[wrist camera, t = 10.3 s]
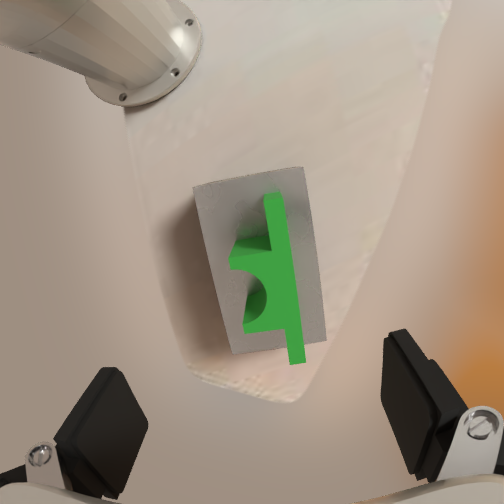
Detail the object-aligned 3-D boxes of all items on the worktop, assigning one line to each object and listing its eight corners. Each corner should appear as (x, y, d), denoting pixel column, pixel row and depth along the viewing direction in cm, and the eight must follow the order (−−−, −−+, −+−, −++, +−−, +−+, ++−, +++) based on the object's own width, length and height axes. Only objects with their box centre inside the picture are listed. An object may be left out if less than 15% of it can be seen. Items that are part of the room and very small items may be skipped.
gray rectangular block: (208, 183, 27) (192, 187, 22) (295, 166, 27) (303, 166, 21) (238, 321, 31) (232, 354, 25) (316, 309, 30) (326, 340, 24)
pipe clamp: (228, 200, 22) (217, 207, 17) (280, 191, 22) (283, 196, 17) (255, 337, 25) (252, 370, 20) (300, 331, 24) (306, 363, 20)
